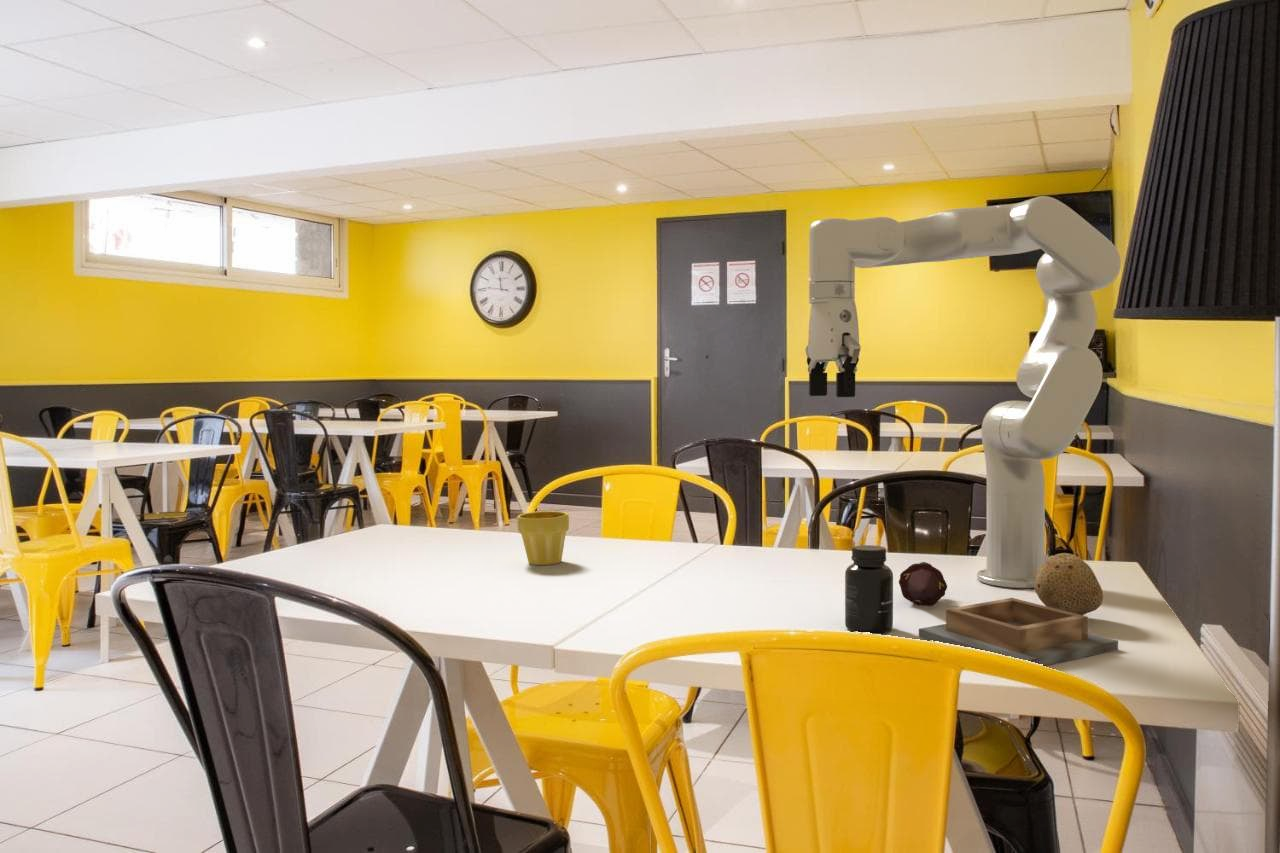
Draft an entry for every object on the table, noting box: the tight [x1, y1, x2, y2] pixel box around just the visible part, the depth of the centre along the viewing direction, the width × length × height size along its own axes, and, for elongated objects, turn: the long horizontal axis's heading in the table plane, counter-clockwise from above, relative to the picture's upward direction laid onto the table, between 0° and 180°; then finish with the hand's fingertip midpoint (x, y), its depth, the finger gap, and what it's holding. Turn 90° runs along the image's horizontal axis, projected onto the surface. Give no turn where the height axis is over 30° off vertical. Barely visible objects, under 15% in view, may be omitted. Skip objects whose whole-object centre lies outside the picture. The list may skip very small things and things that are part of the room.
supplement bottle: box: [844, 544, 894, 635], centre depth 142 cm, size 7×7×12 cm
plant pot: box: [516, 510, 570, 566], centre depth 197 cm, size 10×10×10 cm
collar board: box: [918, 597, 1119, 666], centre depth 133 cm, size 18×18×4 cm
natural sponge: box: [1033, 552, 1104, 616], centre depth 145 cm, size 9×9×10 cm
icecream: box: [898, 561, 948, 607], centre depth 156 cm, size 7×7×15 cm
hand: (831, 396), depth 165 cm, fingers open, 9 cm apart
